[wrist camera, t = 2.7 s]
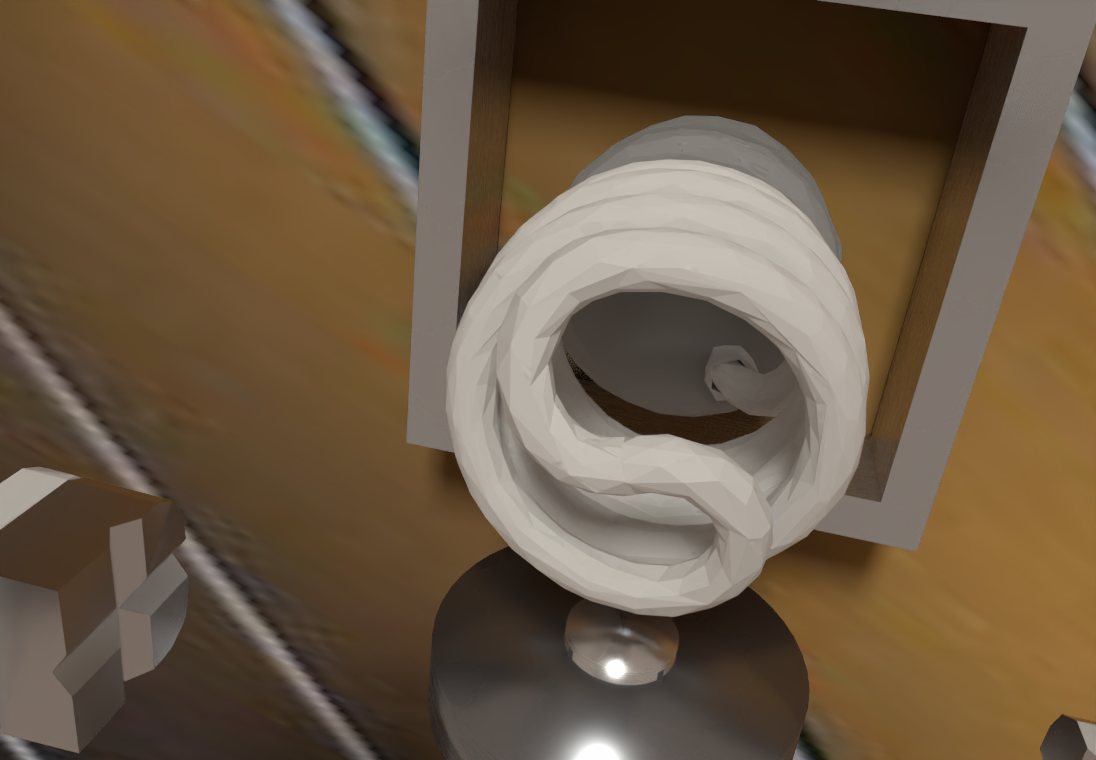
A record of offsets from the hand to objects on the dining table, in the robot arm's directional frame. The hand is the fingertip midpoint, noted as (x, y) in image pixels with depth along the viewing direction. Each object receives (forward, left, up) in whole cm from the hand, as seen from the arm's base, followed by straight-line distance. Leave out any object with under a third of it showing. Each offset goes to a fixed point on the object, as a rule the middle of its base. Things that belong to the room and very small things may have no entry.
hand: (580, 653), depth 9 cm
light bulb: (0, 0, -15) cm, 15 cm away
